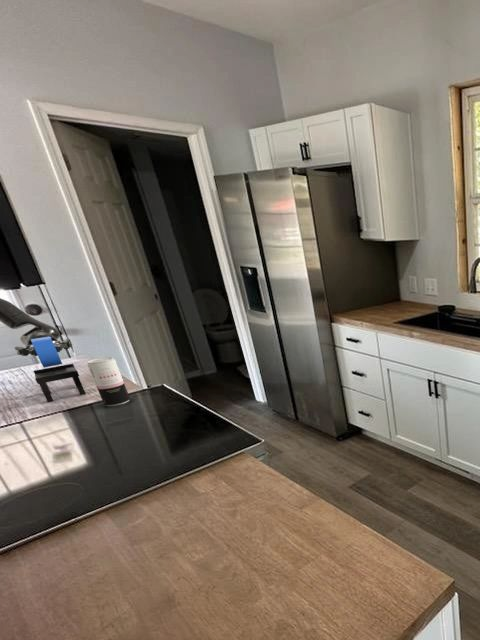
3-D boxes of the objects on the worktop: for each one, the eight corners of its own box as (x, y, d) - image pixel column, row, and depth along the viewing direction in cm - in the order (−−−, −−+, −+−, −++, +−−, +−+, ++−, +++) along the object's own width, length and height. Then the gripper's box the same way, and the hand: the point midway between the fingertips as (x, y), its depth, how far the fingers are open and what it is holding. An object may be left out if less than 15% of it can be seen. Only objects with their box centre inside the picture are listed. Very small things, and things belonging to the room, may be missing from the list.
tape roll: (42, 367, 138) (29, 338, 136) (44, 368, 145) (31, 340, 143) (62, 363, 142) (49, 335, 140) (62, 364, 148) (50, 337, 146)
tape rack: (44, 393, 148) (33, 370, 145) (82, 385, 155) (72, 363, 152) (46, 402, 139) (35, 378, 136) (87, 393, 146) (77, 370, 143)
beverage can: (104, 402, 137) (86, 360, 132) (130, 397, 142) (114, 355, 136) (104, 408, 133) (86, 364, 128) (131, 402, 137) (114, 359, 132)
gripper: (8, 337, 144) (9, 345, 133) (66, 329, 154) (71, 336, 143) (18, 357, 146) (20, 367, 136) (74, 348, 156) (80, 356, 146)
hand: (46, 351), depth 140 cm, fingers closed on tape roll, 4 cm apart
